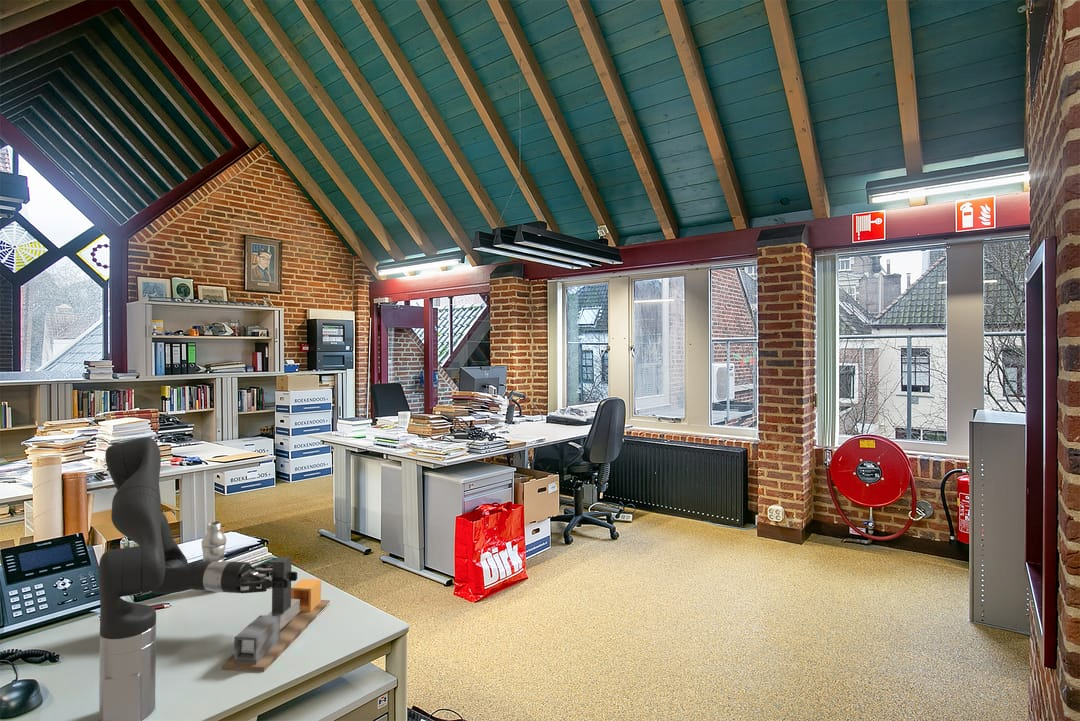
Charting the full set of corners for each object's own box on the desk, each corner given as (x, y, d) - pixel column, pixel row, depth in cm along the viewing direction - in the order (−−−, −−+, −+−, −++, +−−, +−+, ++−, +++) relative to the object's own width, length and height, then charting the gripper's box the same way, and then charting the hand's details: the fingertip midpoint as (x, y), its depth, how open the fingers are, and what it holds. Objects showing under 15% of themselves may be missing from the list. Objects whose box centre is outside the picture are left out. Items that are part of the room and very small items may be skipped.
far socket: (310, 611, 163) (311, 588, 163) (290, 610, 164) (291, 587, 164) (320, 601, 170) (321, 579, 170) (301, 600, 170) (302, 578, 170)
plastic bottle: (201, 587, 180) (201, 521, 180) (226, 584, 183) (227, 519, 183) (199, 595, 174) (199, 527, 174) (225, 592, 177) (226, 525, 177)
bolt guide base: (263, 671, 135) (264, 640, 135) (221, 669, 136) (221, 638, 135) (329, 603, 171) (330, 579, 171) (295, 602, 171) (296, 577, 171)
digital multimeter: (238, 580, 187) (238, 571, 187) (273, 564, 201) (273, 555, 201) (256, 583, 185) (256, 574, 185) (291, 567, 199) (291, 558, 199)
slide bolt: (255, 653, 137) (256, 583, 137) (240, 653, 137) (241, 582, 137) (299, 611, 159) (300, 550, 159) (287, 611, 159) (287, 550, 159)
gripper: (211, 572, 146) (278, 575, 145) (243, 552, 160) (305, 555, 159) (210, 602, 146) (278, 606, 145) (243, 580, 161) (305, 583, 160)
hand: (292, 579), depth 152 cm, fingers closed on slide bolt, 4 cm apart
